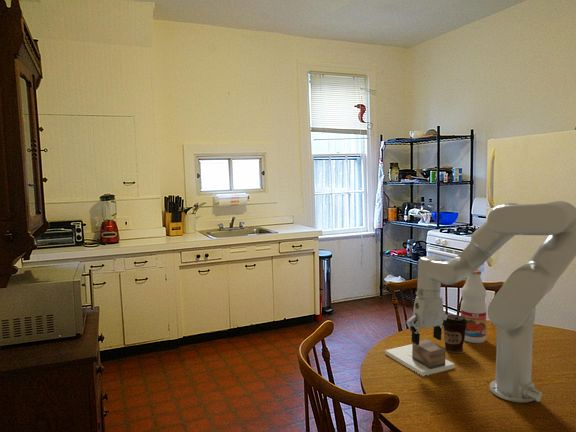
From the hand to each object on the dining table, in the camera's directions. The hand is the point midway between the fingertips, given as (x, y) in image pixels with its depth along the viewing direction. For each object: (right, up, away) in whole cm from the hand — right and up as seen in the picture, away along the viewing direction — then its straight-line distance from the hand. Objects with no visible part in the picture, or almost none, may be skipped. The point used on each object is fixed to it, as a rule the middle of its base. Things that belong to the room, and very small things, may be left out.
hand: (426, 341), depth 148 cm
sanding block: (+1, -7, 0) cm, 7 cm away
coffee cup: (+15, -8, +13) cm, 21 cm away
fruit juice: (+26, -6, +24) cm, 36 cm away
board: (-1, -9, +5) cm, 10 cm away
